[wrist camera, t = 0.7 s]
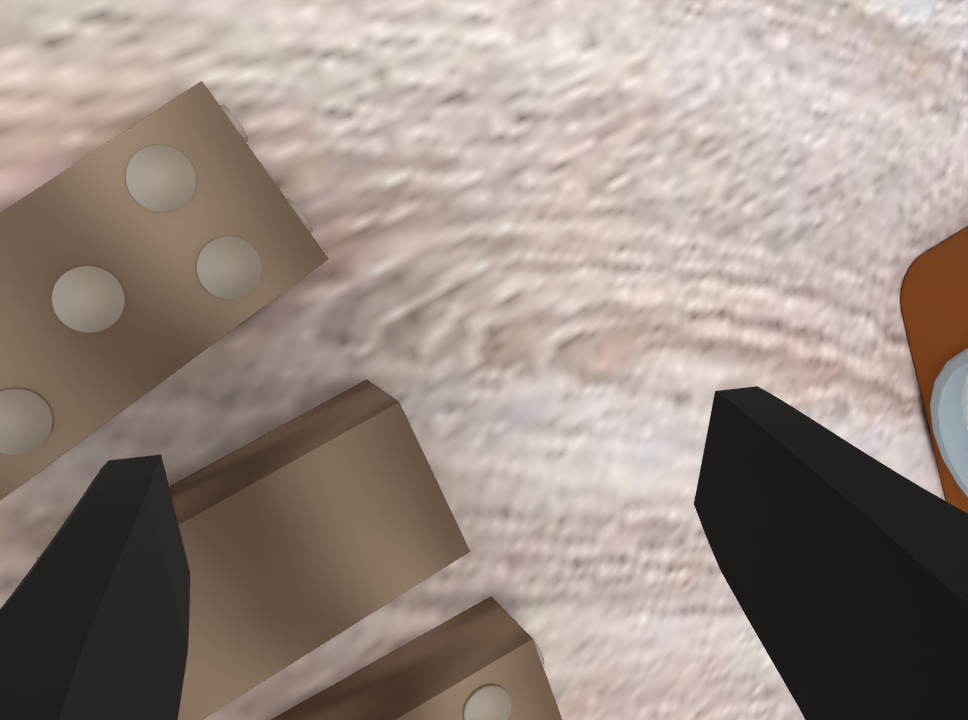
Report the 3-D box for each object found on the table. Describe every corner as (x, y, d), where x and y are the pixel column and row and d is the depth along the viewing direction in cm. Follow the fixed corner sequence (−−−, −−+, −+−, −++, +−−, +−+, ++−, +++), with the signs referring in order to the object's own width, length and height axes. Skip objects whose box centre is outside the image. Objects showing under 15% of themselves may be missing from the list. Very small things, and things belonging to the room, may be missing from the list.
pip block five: (-11, 476, 28) (-27, 522, 24) (-163, 324, 25) (-208, 348, 21) (305, 246, 30) (336, 254, 26) (193, 90, 28) (210, 75, 24)
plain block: (131, 692, 31) (137, 760, 27) (38, 554, 29) (30, 607, 25) (429, 512, 34) (470, 551, 30) (364, 378, 32) (399, 402, 28)
